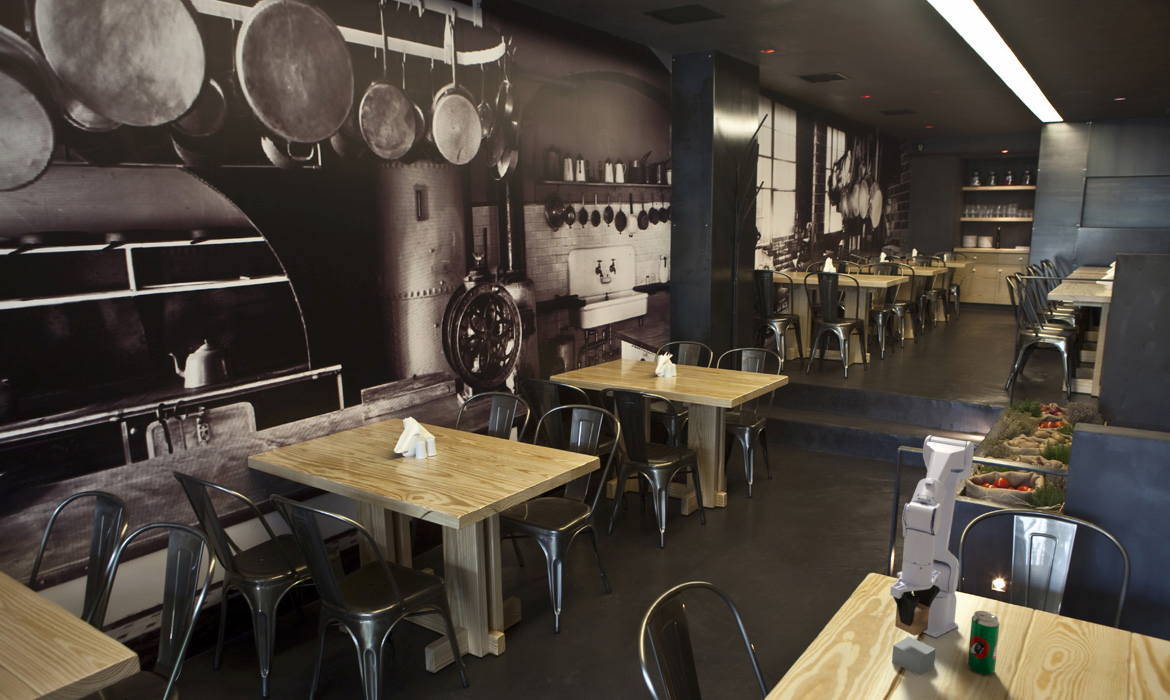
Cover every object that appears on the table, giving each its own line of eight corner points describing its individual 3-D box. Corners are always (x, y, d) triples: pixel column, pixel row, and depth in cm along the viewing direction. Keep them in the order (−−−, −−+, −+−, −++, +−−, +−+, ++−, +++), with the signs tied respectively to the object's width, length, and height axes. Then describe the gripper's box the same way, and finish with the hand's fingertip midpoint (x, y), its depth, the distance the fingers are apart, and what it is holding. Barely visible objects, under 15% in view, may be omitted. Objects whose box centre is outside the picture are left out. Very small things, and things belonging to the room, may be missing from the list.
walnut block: (908, 620, 159) (909, 598, 159) (927, 629, 156) (929, 607, 155) (895, 626, 157) (896, 604, 156) (914, 635, 153) (916, 613, 152)
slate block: (907, 653, 161) (908, 636, 160) (934, 666, 156) (935, 648, 155) (891, 662, 157) (893, 645, 157) (918, 676, 153) (920, 658, 152)
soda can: (998, 677, 152) (1003, 623, 150) (971, 674, 153) (976, 620, 151) (990, 663, 157) (995, 611, 155) (964, 661, 158) (969, 608, 156)
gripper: (921, 544, 161) (916, 603, 163) (879, 560, 153) (874, 621, 155) (952, 556, 155) (946, 617, 157) (910, 573, 147) (905, 636, 149)
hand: (913, 620), depth 156 cm, fingers closed on walnut block, 4 cm apart
